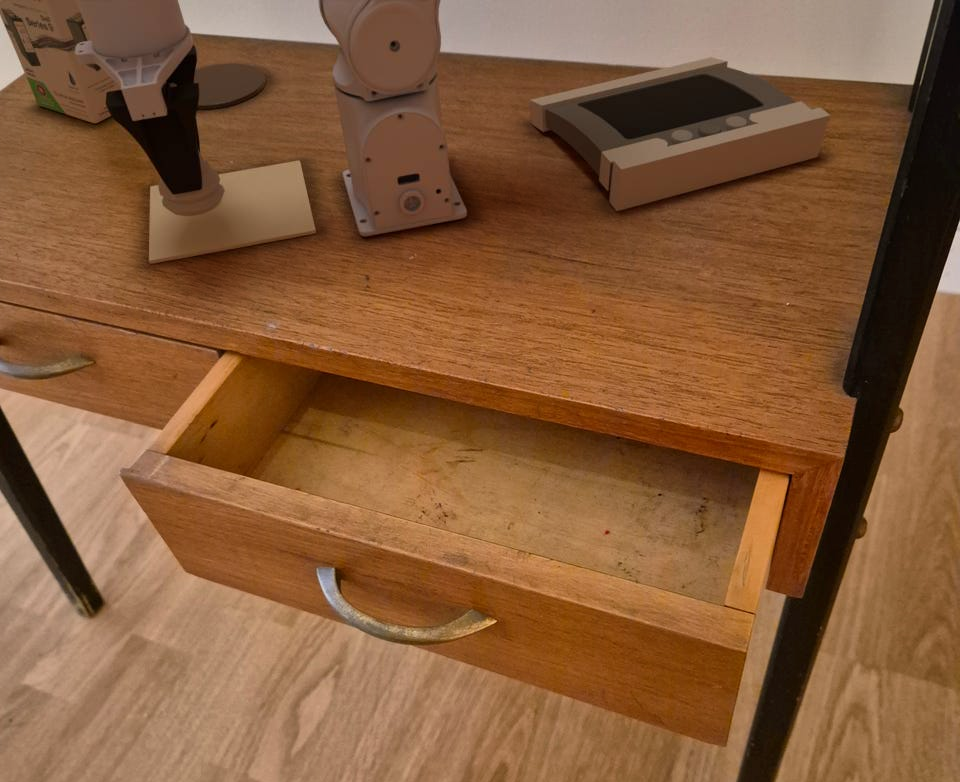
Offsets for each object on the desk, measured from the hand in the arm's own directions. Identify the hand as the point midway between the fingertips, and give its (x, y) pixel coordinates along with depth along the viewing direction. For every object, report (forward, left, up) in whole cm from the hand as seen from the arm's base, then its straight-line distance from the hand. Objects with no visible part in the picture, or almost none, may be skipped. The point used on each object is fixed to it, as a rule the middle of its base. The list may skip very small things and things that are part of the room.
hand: (186, 175), depth 61 cm
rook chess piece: (0, 0, -2) cm, 2 cm away
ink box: (+27, +10, -5) cm, 29 cm away
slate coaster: (+26, -2, -5) cm, 27 cm away
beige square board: (+3, -2, -5) cm, 6 cm away
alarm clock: (+2, -37, -5) cm, 37 cm away
